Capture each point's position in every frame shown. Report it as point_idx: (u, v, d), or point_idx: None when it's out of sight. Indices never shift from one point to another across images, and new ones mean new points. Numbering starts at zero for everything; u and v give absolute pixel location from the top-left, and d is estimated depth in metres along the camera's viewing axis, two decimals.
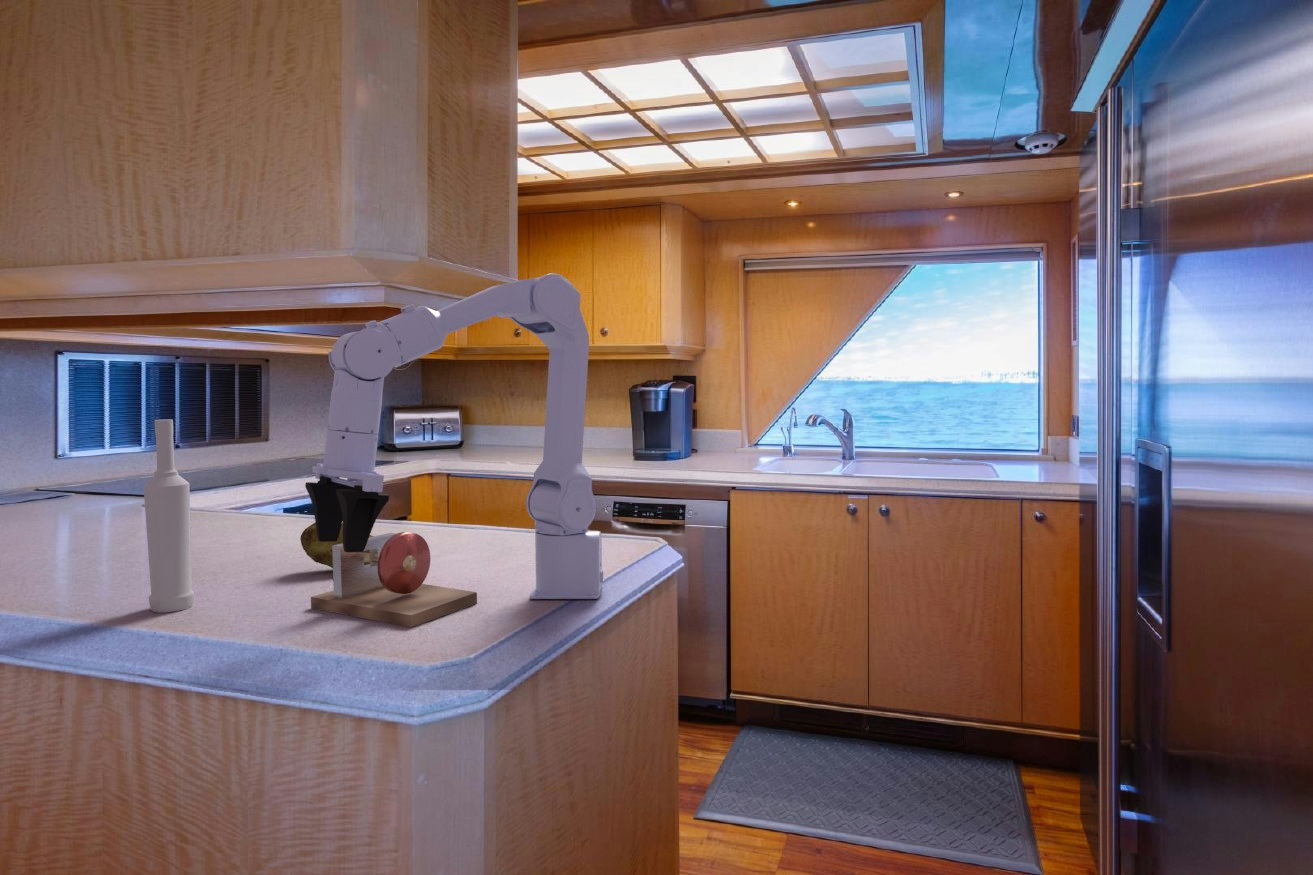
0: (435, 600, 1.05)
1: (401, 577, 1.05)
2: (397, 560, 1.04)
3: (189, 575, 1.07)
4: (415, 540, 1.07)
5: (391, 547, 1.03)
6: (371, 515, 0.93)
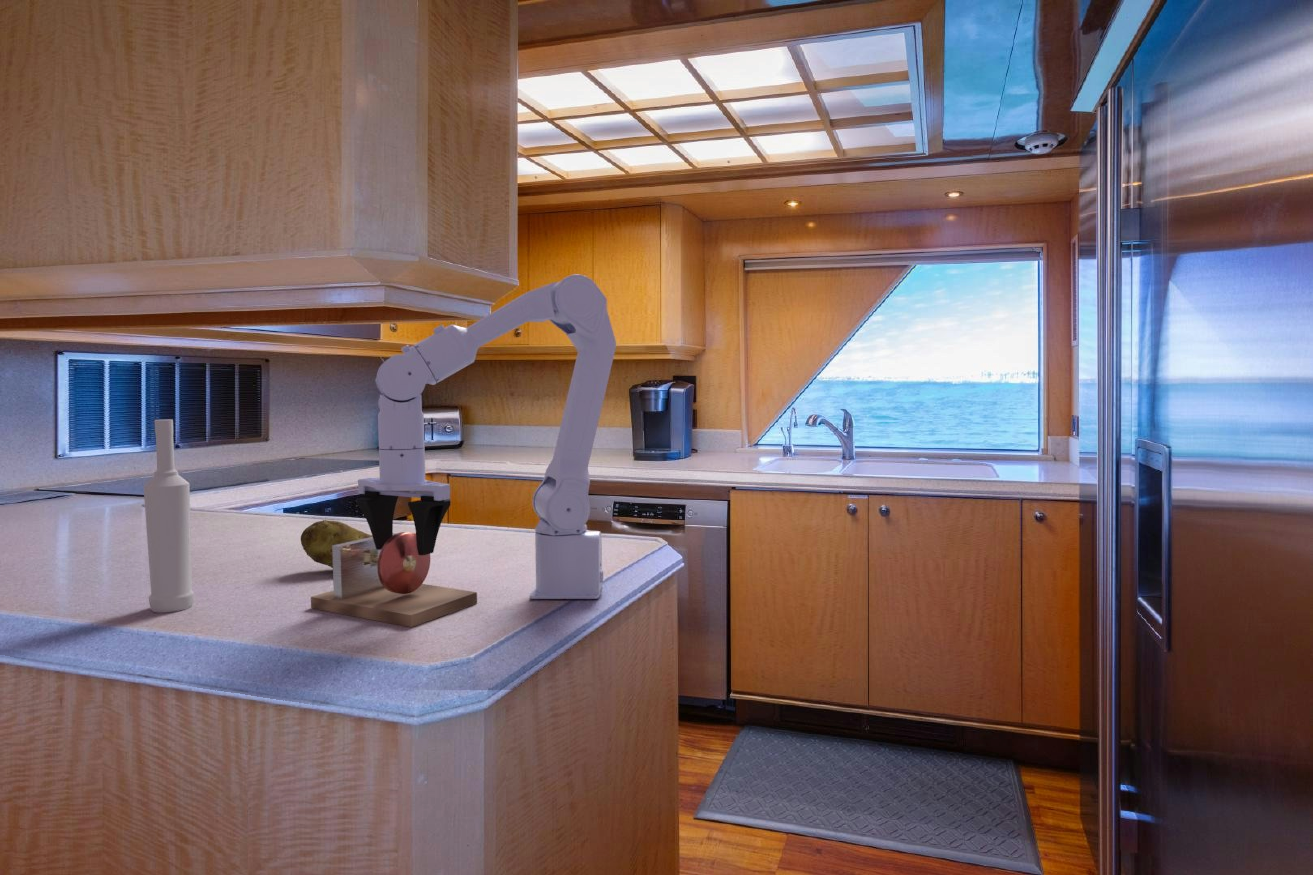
0: (435, 600, 1.05)
1: (401, 577, 1.05)
2: (397, 560, 1.04)
3: (189, 575, 1.07)
4: (415, 540, 1.07)
5: (391, 547, 1.03)
6: (437, 519, 1.05)
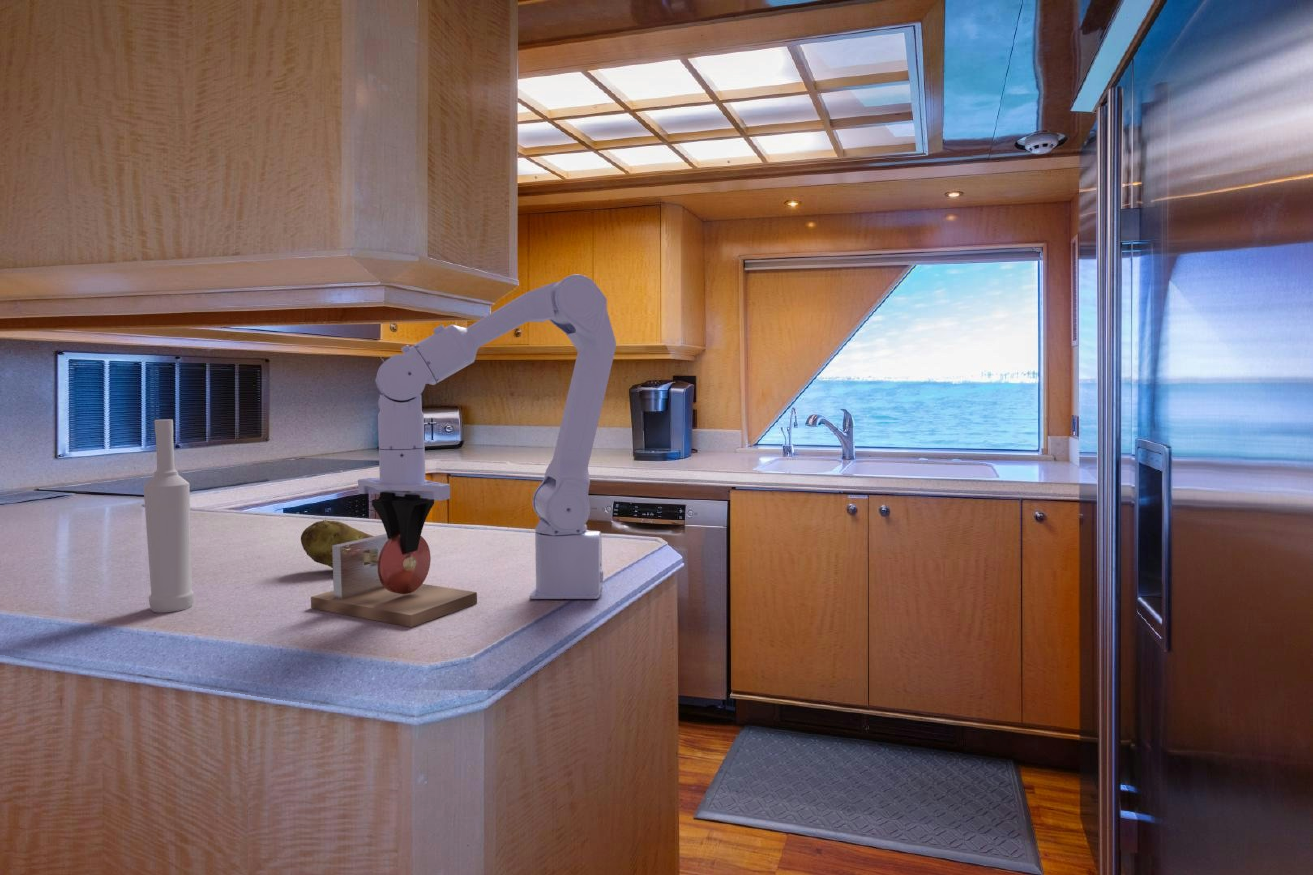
0: (435, 600, 1.05)
1: (401, 577, 1.05)
2: (397, 560, 1.04)
3: (189, 575, 1.07)
4: None
5: (391, 547, 1.03)
6: (421, 518, 1.06)
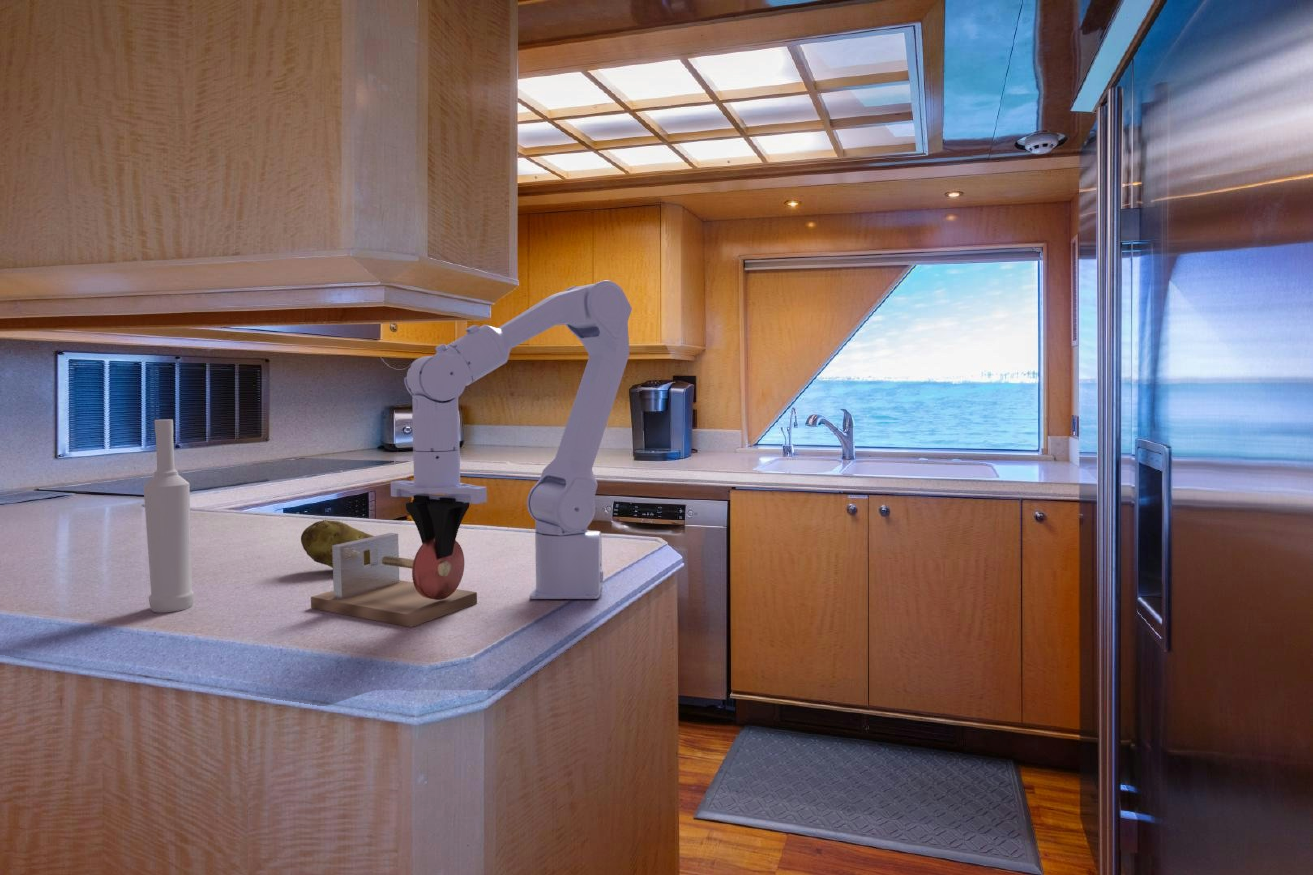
0: (435, 600, 1.05)
1: (436, 582, 1.02)
2: (432, 565, 1.01)
3: (189, 575, 1.07)
4: None
5: (426, 552, 1.00)
6: (456, 521, 1.03)
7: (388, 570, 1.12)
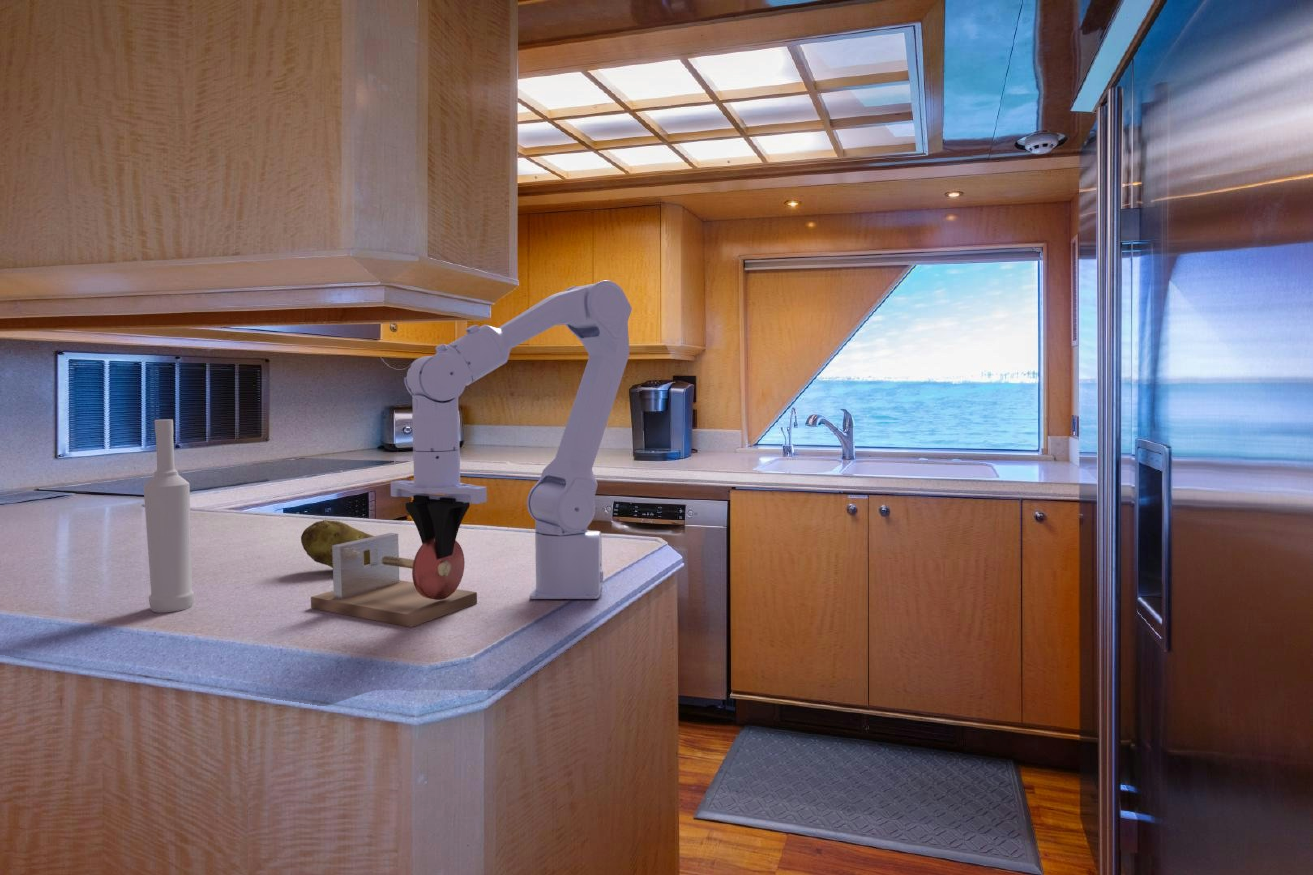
0: (435, 600, 1.05)
1: (436, 582, 1.02)
2: (432, 565, 1.01)
3: (189, 575, 1.07)
4: None
5: (426, 552, 1.00)
6: (456, 521, 1.03)
7: (388, 570, 1.12)
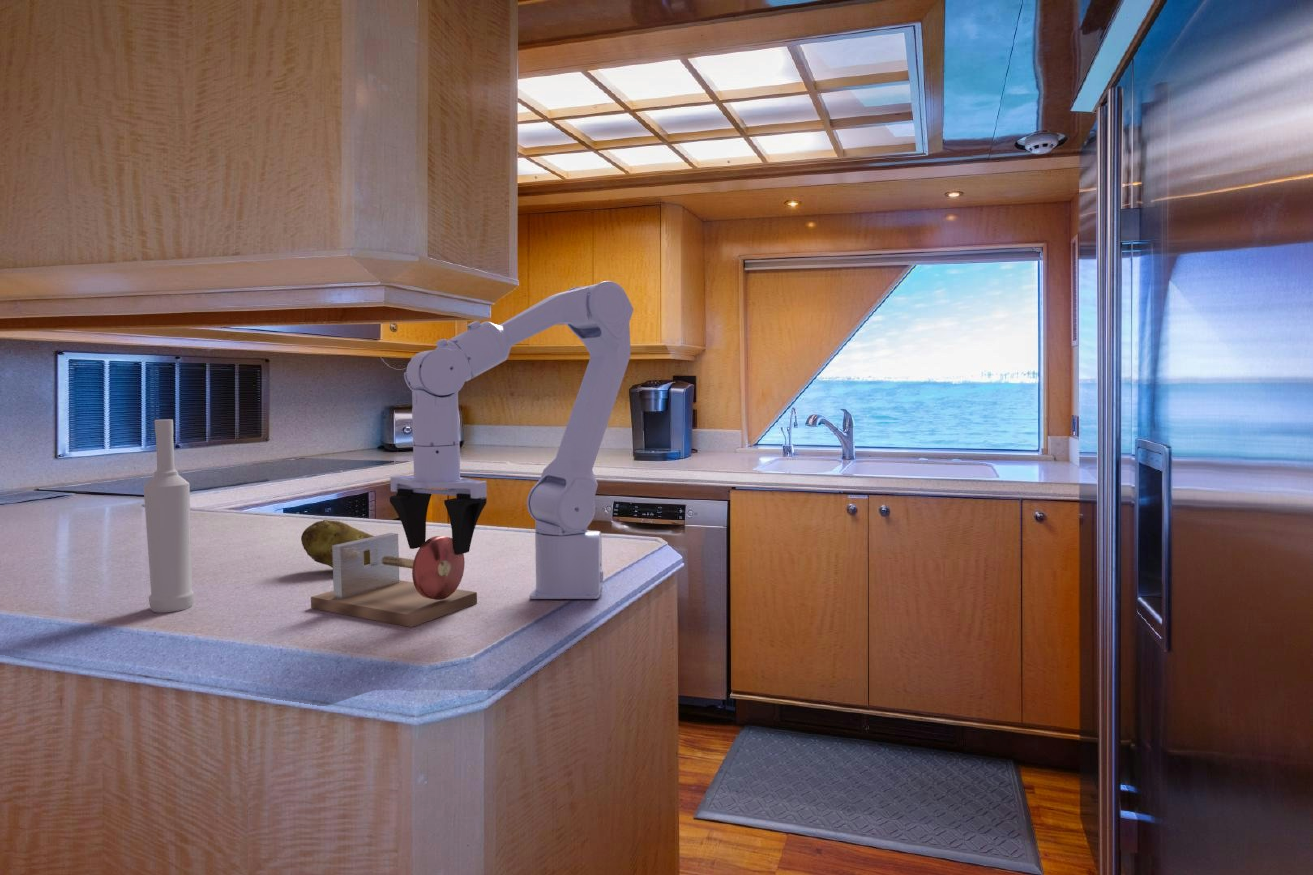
0: (435, 600, 1.05)
1: (436, 582, 1.02)
2: (432, 565, 1.01)
3: (189, 575, 1.07)
4: (449, 544, 1.04)
5: (426, 552, 1.00)
6: (473, 518, 1.02)
7: (388, 570, 1.12)
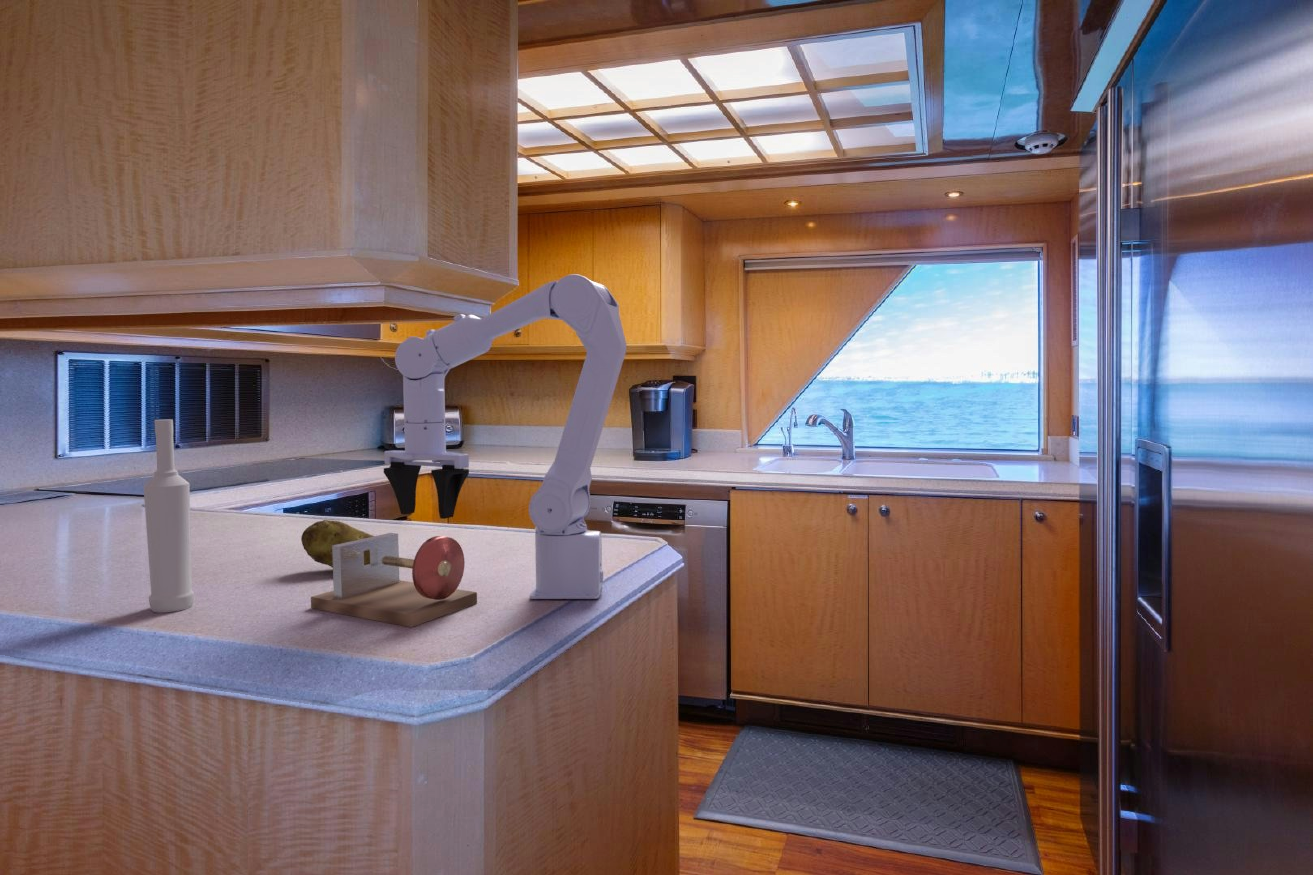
0: (435, 600, 1.05)
1: (436, 582, 1.02)
2: (432, 565, 1.01)
3: (189, 575, 1.07)
4: (449, 544, 1.04)
5: (426, 552, 1.00)
6: (457, 487, 1.16)
7: (388, 570, 1.12)
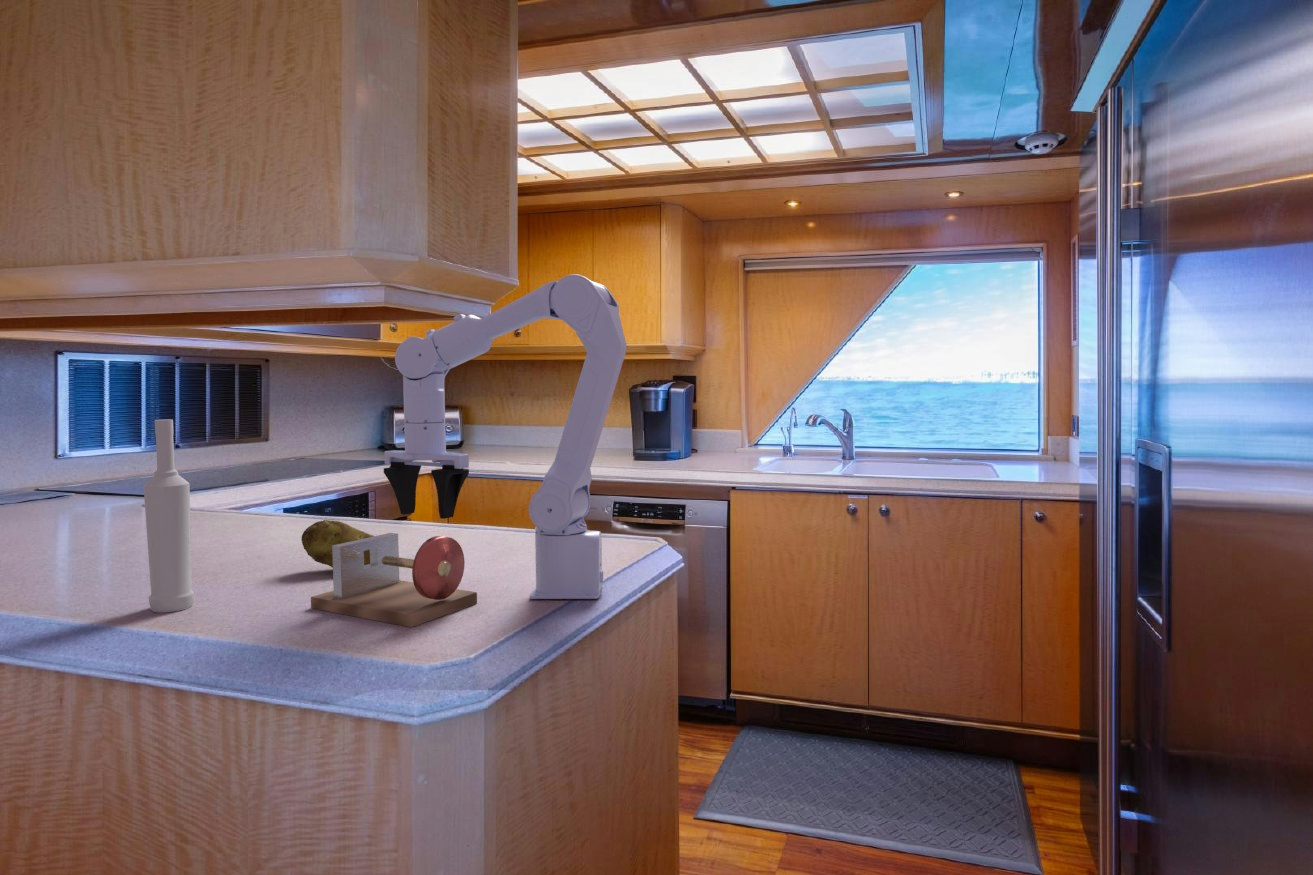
0: (435, 600, 1.05)
1: (436, 582, 1.02)
2: (432, 565, 1.01)
3: (189, 575, 1.07)
4: (449, 544, 1.04)
5: (426, 552, 1.00)
6: (457, 487, 1.16)
7: (388, 570, 1.12)
